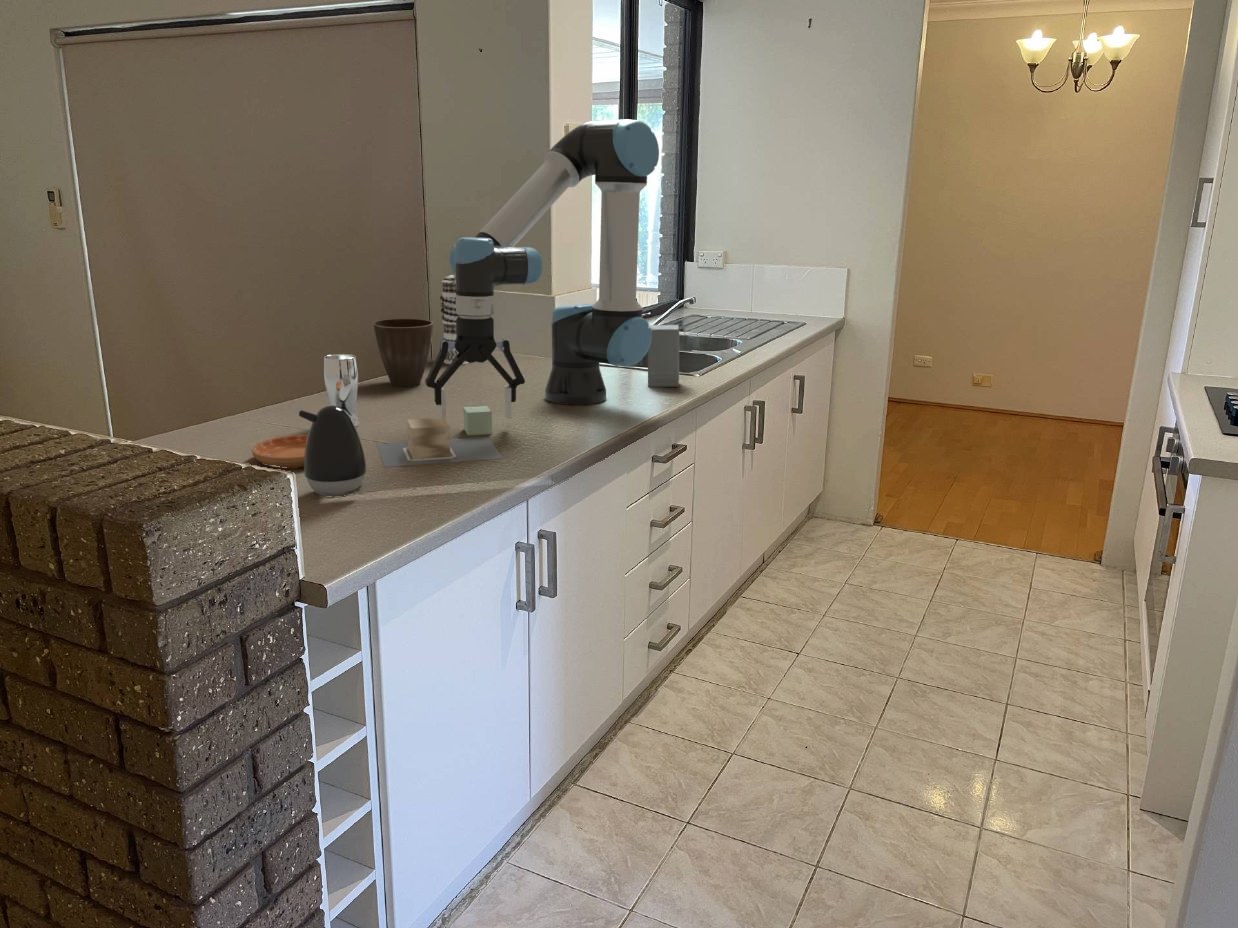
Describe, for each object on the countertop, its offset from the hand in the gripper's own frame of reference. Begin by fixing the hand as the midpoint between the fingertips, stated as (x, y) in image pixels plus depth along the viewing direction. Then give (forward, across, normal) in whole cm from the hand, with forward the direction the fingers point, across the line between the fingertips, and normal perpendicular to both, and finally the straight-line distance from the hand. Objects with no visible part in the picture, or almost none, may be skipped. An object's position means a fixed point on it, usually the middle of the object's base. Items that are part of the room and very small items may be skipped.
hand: (475, 419), depth 197 cm
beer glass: (+4, -26, +17) cm, 31 cm away
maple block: (+3, -12, -14) cm, 18 cm away
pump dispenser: (+5, -30, -30) cm, 42 cm away
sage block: (+4, 0, 0) cm, 4 cm away
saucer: (+5, -36, -7) cm, 37 cm away
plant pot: (+4, -8, +58) cm, 58 cm away
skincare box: (+3, +57, +40) cm, 70 cm away
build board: (+4, -10, -13) cm, 16 cm away
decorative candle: (+3, +10, +85) cm, 86 cm away
